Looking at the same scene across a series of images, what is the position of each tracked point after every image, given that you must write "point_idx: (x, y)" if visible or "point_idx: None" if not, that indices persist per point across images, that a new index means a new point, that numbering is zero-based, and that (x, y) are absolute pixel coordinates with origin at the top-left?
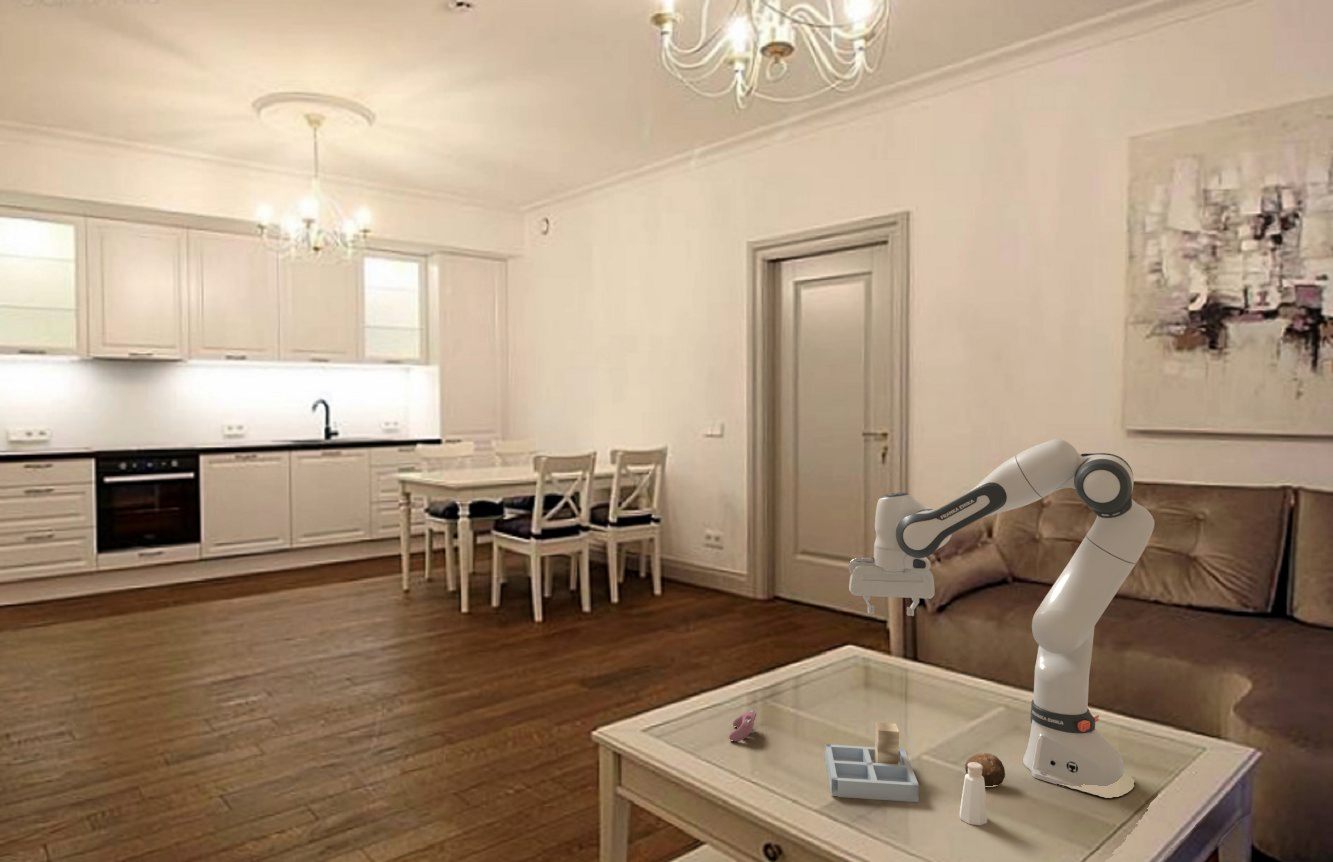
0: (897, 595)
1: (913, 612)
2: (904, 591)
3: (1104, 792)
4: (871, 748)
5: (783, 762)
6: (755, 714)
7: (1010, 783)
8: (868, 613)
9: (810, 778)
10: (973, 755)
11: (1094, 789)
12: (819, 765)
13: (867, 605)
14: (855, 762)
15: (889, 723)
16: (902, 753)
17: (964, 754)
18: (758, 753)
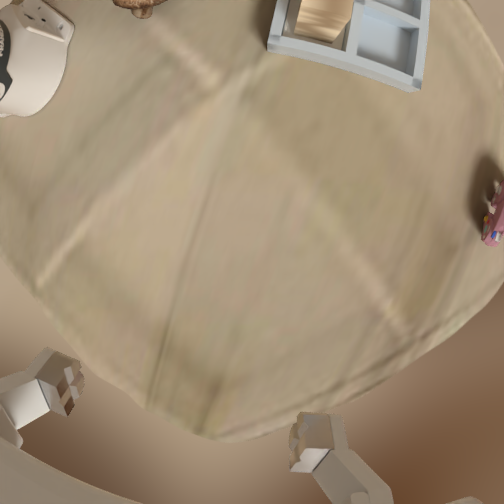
0: (88, 499)
1: (38, 358)
2: (12, 500)
3: None
4: (337, 52)
5: (467, 100)
6: (491, 229)
7: None
8: (339, 414)
9: (441, 40)
10: (146, 2)
11: None
12: None
13: (359, 458)
14: (384, 10)
15: (317, 7)
16: (279, 25)
17: (135, 93)
18: (490, 141)
